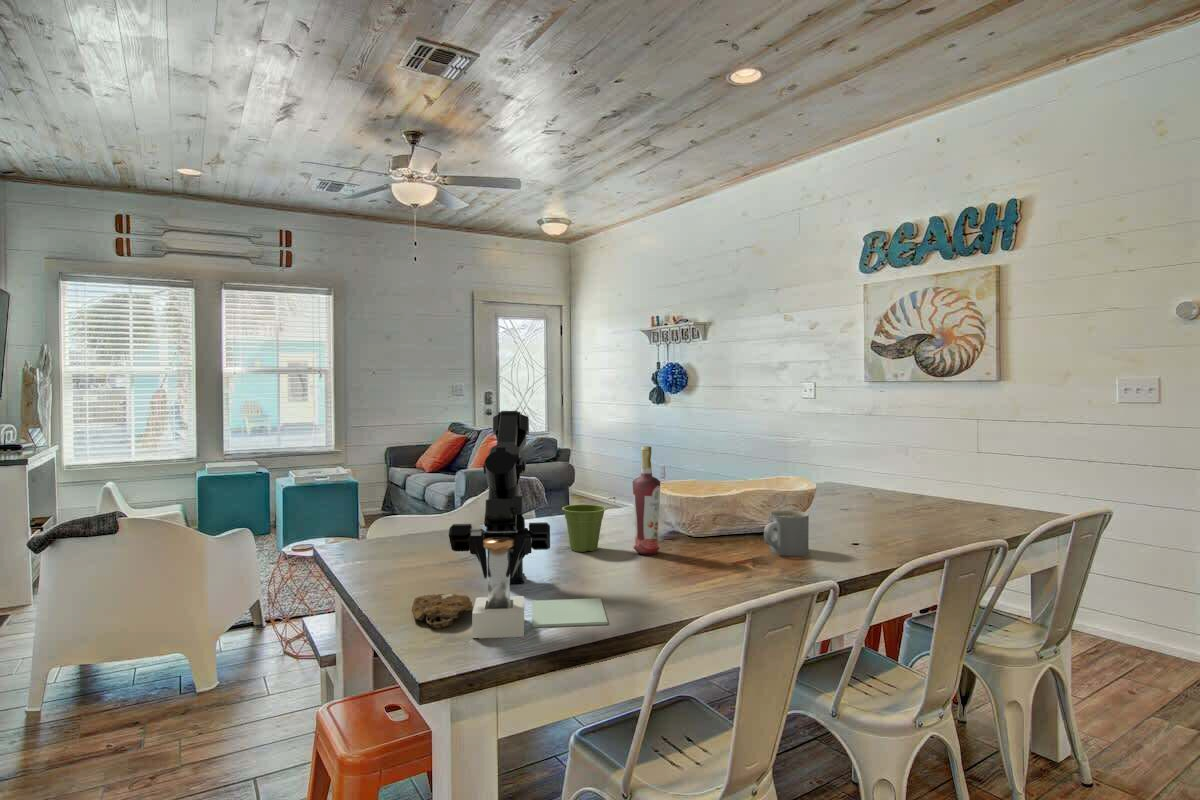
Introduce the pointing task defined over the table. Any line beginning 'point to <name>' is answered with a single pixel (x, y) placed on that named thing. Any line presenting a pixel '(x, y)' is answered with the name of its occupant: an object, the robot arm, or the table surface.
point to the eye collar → (498, 619)
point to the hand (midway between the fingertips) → (498, 577)
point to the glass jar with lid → (498, 571)
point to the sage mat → (568, 612)
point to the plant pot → (584, 526)
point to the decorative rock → (440, 608)
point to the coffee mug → (787, 533)
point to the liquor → (646, 507)
